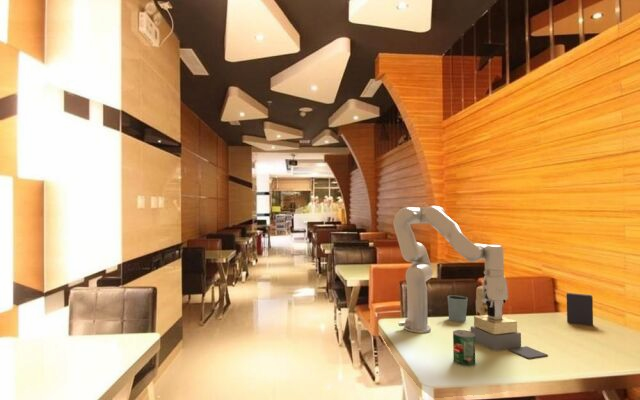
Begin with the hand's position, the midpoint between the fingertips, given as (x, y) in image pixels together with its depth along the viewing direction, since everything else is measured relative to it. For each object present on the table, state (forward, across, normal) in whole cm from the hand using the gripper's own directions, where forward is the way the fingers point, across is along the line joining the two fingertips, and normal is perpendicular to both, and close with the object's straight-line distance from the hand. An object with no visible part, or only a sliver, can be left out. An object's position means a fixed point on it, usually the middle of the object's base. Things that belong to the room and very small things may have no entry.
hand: (495, 314), depth 163 cm
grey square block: (+12, 0, 0) cm, 12 cm away
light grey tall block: (+3, 0, 0) cm, 3 cm away
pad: (+12, +4, -13) cm, 18 cm away
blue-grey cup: (+12, +9, +36) cm, 39 cm away
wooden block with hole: (+6, +1, 0) cm, 6 cm away
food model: (+13, +15, +22) cm, 29 cm away
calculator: (+13, +65, +11) cm, 67 cm away
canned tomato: (+13, -27, -13) cm, 33 cm away
